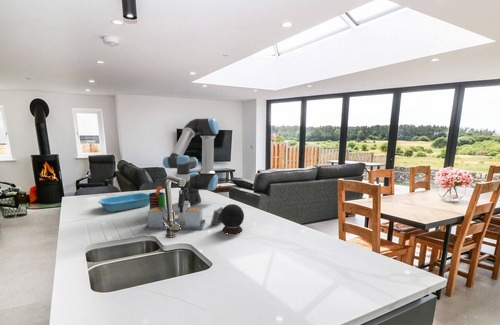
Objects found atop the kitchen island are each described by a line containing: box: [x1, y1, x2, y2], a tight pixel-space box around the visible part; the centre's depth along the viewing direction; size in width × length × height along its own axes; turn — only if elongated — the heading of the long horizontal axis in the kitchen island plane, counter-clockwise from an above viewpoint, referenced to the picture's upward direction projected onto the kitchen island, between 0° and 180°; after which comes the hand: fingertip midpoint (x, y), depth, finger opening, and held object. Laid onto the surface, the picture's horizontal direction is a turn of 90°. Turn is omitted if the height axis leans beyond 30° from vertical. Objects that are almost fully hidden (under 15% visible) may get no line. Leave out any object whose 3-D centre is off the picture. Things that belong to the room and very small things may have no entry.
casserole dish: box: [98, 192, 150, 213], centre depth 193 cm, size 37×22×7 cm, turn 135°
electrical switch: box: [210, 206, 224, 226], centre depth 159 cm, size 9×5×9 cm, turn 157°
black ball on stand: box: [220, 203, 245, 235], centre depth 146 cm, size 13×13×15 cm
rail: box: [144, 206, 206, 231], centre depth 153 cm, size 11×32×11 cm, turn 91°
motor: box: [148, 185, 166, 210], centre depth 168 cm, size 10×9×20 cm
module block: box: [177, 203, 191, 221], centre depth 165 cm, size 6×6×11 cm
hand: (184, 214), depth 165 cm, fingers open, 13 cm apart
